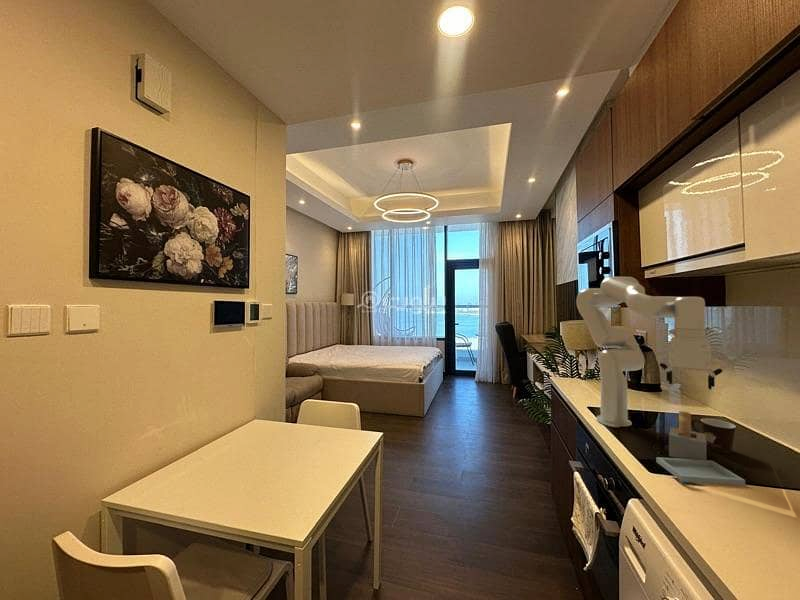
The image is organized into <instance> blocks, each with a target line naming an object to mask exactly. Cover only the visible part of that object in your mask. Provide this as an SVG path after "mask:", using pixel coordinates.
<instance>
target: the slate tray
mask: <svg viewBox="0 0 800 600" xmlns="http://www.w3.org/2000/svg"><path fill="white" fill-rule="evenodd" d="M655 460H656V461H655V462H656V463H657V464H658V465H659V466H661V467H662V468H663V469H665V470H666V471H667V472H668V473H670V474H671V475H673V476H670V477H671V478H672V479H674V480H675V481H676V482H677V483H679V484H680V485H681V486H694V487H706V488H707V486H706V485H703V484H714V485H730V486H742V487H743V486H744V487H745V486H746V479H744V478H743V477H740V476H739V475H737V474H736V473H734V472H732V471H731V470H729V469H728V468H725V467H724V466H722V465H721V464H718V462H716V461H714V460H708V459H706V460H693V459H679V458H675V457H660V456H659V457H655ZM700 483H701V484H700Z"/></svg>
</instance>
